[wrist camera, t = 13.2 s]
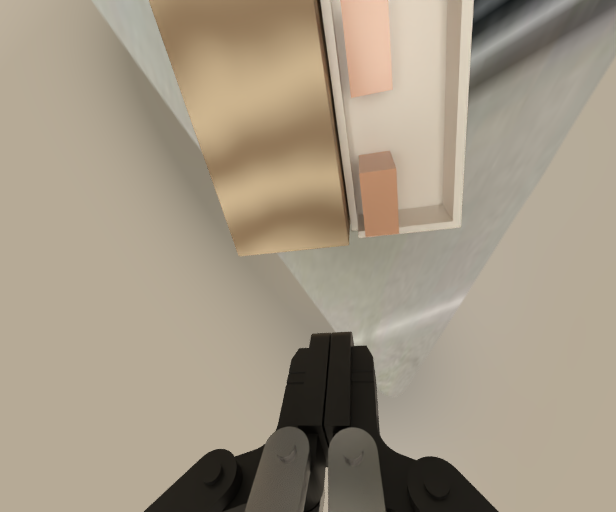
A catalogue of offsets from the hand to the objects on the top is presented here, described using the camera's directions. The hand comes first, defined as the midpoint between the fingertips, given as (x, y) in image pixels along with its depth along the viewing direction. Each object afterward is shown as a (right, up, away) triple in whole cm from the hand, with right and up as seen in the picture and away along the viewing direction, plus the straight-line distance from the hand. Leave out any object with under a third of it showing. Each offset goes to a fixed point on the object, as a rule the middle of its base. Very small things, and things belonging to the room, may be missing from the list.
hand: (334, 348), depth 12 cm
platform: (-3, +14, +14) cm, 20 cm away
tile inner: (+1, +17, +8) cm, 19 cm away
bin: (+6, +15, +12) cm, 20 cm away
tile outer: (+3, +8, +13) cm, 16 cm away
